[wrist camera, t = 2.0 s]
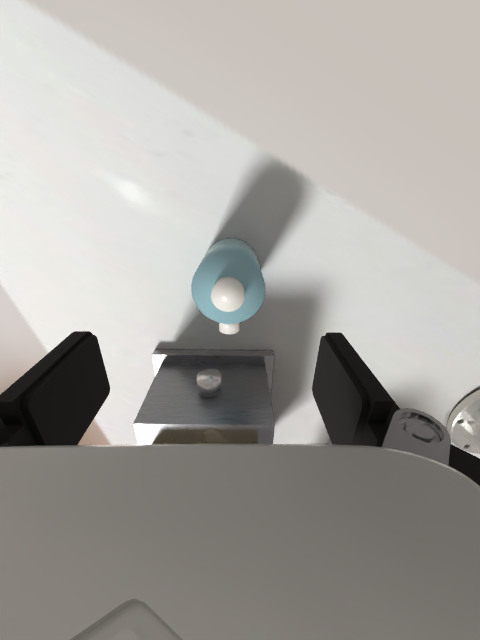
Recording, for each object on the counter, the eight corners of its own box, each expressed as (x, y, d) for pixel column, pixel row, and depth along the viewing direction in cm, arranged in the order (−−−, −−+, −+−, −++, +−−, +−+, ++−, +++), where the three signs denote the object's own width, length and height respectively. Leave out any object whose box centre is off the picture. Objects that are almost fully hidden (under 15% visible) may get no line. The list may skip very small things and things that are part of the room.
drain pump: (259, 238, 25) (269, 257, 17) (256, 305, 28) (263, 347, 20) (202, 237, 25) (185, 256, 17) (205, 304, 28) (192, 346, 20)
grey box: (273, 346, 31) (293, 433, 19) (265, 443, 38) (276, 548, 27) (154, 344, 30) (105, 431, 19) (169, 442, 38) (139, 547, 26)
